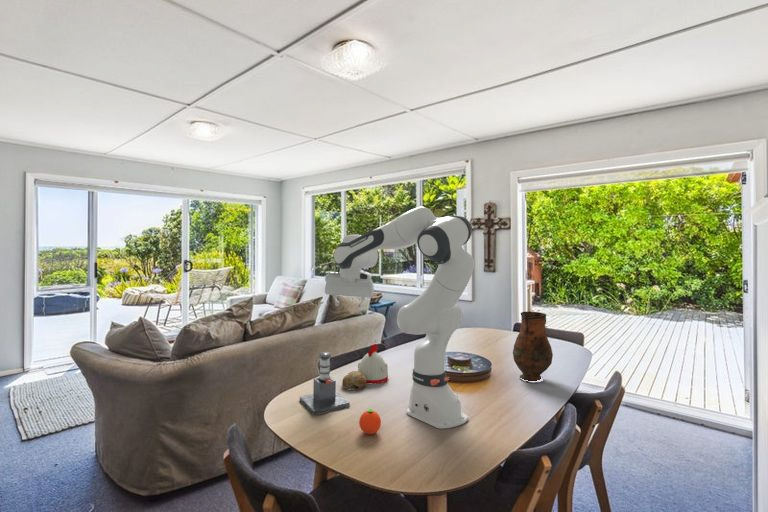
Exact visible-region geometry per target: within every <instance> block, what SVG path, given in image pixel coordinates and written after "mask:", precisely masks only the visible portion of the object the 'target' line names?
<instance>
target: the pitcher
mask: <svg viewBox="0 0 768 512" xmlns="http://www.w3.org/2000/svg"><path fill="white" fill-rule="evenodd" d="M520 317H521V320H520V321H521V324H520V330H519V332H518V334H517V336H516V339H515V341H514V344H513V348H512V356H513V361H514V363H515V365H516V367H517V368H518V370H520V372H521V373H522V374H520V375H519V377H520V378H522V379H524V380H528V381H537V380H540V379H541V377H542V376H541V375H542V374H543V373H545V372H546V371H547V370H548V369H549V368H550V367H551V365H552V363H553V356H554V355H553V348H552V346H551V343H550V341H549V339H548V336H547V333H546V331H547V330H546V323H547V313H544V312H539V311H538V312H537V311H522V312H520ZM520 378H519V379H520Z"/></svg>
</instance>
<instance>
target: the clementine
mask: <svg viewBox="0 0 768 512" xmlns="http://www.w3.org/2000/svg"><path fill="white" fill-rule="evenodd" d="M358 422H359V423H358V425H359V428H360V430H361V431H362V432H363V433H365V434H366V435H374V434H375V433H377V432H378V431H379V430H380V428H381V425H382V419H381V416H380V414H378V412H376V411H375V410H373V409H371V408H370V409H368V408H367V410H366V411H364V412H363V413H362V414H361V416H360V417H359V421H358Z"/></svg>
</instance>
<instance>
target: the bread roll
mask: <svg viewBox="0 0 768 512" xmlns="http://www.w3.org/2000/svg"><path fill="white" fill-rule="evenodd" d="M357 371H358V370H352V371H350V372H349V373H347V374H346V375H345V376H344V377H343V378H342V382H341V384H342V387H343V388H345V389H346V390H348V389H351V390H350V391H358V389H359V390H363V389H365V388H366V386H367V383H366V378H365V376H364V375H362V374H361V373H360V372H357ZM362 388H363V389H362Z"/></svg>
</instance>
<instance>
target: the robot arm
mask: <svg viewBox="0 0 768 512" xmlns="http://www.w3.org/2000/svg"><path fill="white" fill-rule="evenodd" d="M472 233H473V227H472V224H471V223H470V221H469V219H467V217H464V216H461V215H457V214H456V215H455V214H454V215H453V214H451V215H448V214H442V215H441V216H439V217H437V216H435V214H434V212H433V211H432V210H431V209H430V208H428V207H426V206H419V207H414V208H412V209H409V210H408V211H406V212H404V213H402V214H400V215H399V216H397V217H396V218H394V219H392V220H390V221H389V222H387V223H385V224H383V225H380V226H379V227H377V228H375V229H373V230H371V231H368V232H366V233H365V234H362V235H361V234H355V233H354V234H346V235H345V236H343V238H342V242H339V244H338V245H337V246H336V247H335V248H334V251H333V260H334V263H335V264H336V265H337V266H338V267H339V272H333V271H330V272H327V273H326V274H325V278H324V279H325V280H324V281H325V287H324V293H325V294H326V295H329V296H332V299H333V300H334V305H335V306H336V307H339V306H340V302H341V301H339V300H338V299H337V297H338V296H341V297H342V296H345V297H356V298H357V297H358V298H360V300H361V301H360V302H358V303H357V308H358V309H359V308H360V309H361V308H362V306H363V302H364V301H365V300H366V298H373V297H374V293H375V292H374V291H375V288H374V282H373V280H372V277H373V275H372V273H371V272H368V271H366V270H363V269H369V268H374V267H375V266H377V264H378V262H379V258H380V253H379V250H402V249H407V248H409V247H412V246H413V245H415V244H417V248H418V250H419V252H420V253H421V254H422V256H424V257H425V258H426V259H427V260H430V261H431V262H432V263H433V264H437V265H438V267H437V269H436V271H435V273H434V274H433V277H432V279H431V280H430V282H429V284H428V286H427V287H426V289H425V290H424V291H423V292H421V294H420V295H419V296H417V297H416V298H415V299H414V300H412V301H410V303H408V304H406V305H403V306H401V307H400V308H399V309H398V312H397V314H396V323H397V324H396V325H397V326H398V328H399V329H400V331H401V332H402V333H403V334H409V335H415V336H416V335H425V337H424V339H423V340H421V342H419V343H417V345H416V346H415V348H414V352H413V353H414V354H413V355H414V356H413V358H414V360H413V368H412V373H411V375H412V381H413V383H412V386H411V388H410V393H409V401H408V402H409V403H408V408H407V409H406V415H408V416H411V417H413V418H414V419H417V420H419V421H421V422H423V423H426V424H428V425H430V426H432V427H433V428H436V429H450V428H455V427H458V426H461V425H464V424H465V423H467V422H468V420H469V416H468V415H467V414H466V413H464V411H462V406H461V405H462V404H461V401H460V399H459V396H458V395H457V394H456V393H455V392H454V391H453V389H452V388H451V386H450V385H449V384H448V381H449V380H451V379H449V378H450V376H447V374H446V370H445V364H446V363H445V361H446V351H447V347H448V343H449V341H450V339H451V337H452V335H453V334H454V333H455V332H456V331H457V330H458V329H459V328H460V327H461V325H462V323H463V320H464V319H463V317H464V315H463V312H462V309H461V307H460V306H459V304H457V303H458V302H459V300H460V298H461V297H462V295H463V293H464V291H465V290H466V288H467V286H468V284H469V282H470V280H471V278H472V274H473V272H474V267H475V260H474V257H473V256H472V255H471V254H470V253H469V252H468V251H466V250H464V248H463V246H464V245H465V244H467V243H468V242H469V240H470V239H471V236H472Z"/></svg>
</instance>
